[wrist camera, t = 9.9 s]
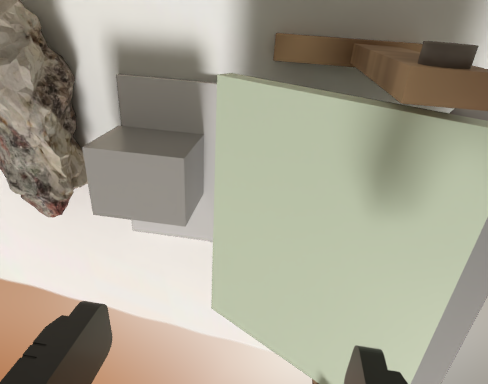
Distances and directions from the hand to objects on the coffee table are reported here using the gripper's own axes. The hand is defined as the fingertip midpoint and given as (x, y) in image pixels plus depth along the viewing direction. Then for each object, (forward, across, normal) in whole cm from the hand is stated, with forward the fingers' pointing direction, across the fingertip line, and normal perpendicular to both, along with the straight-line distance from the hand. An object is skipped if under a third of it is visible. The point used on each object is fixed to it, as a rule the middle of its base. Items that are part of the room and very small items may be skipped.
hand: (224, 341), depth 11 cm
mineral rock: (+15, +16, -3) cm, 22 cm away
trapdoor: (+9, -5, 0) cm, 10 cm away
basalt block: (+12, +4, 0) cm, 12 cm away
